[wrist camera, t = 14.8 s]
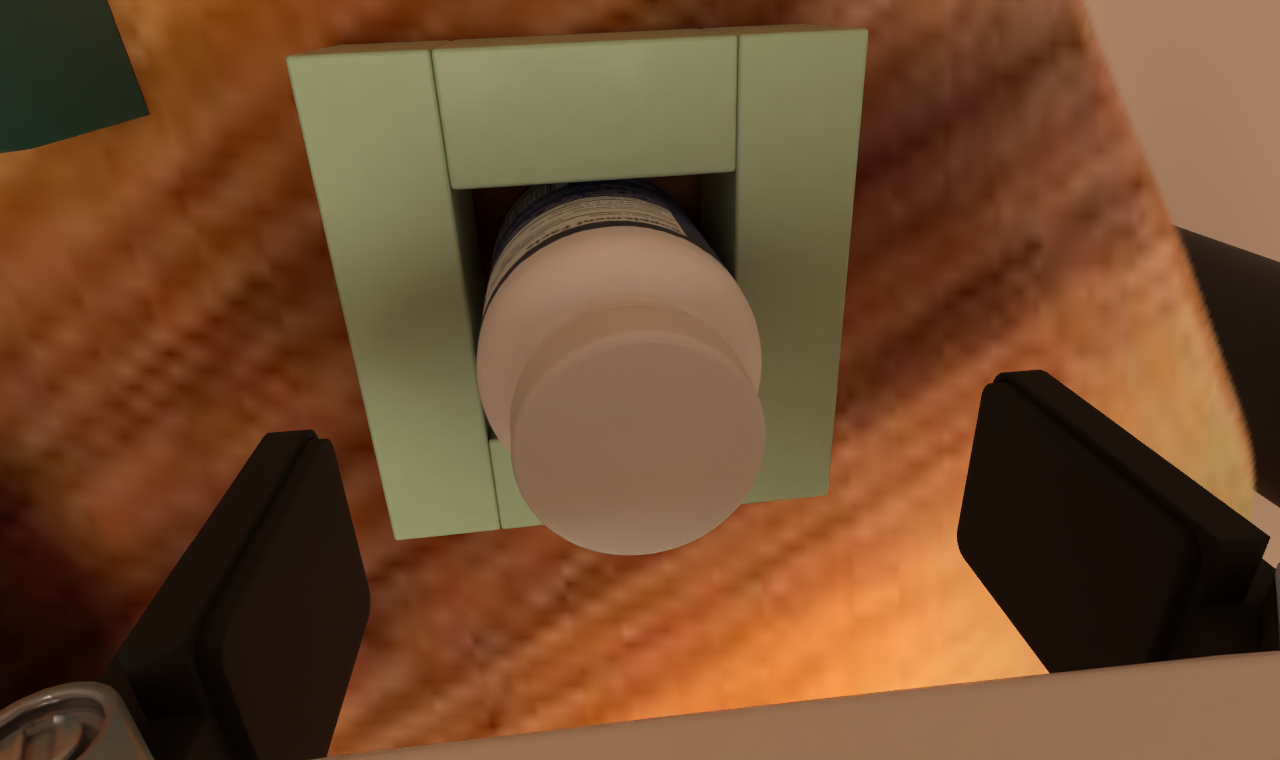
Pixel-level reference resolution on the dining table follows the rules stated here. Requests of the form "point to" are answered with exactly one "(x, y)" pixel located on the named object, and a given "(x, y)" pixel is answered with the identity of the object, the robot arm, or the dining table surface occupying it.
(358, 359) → the holder
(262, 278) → the dining table surface
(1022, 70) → the dining table surface
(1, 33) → the bracket
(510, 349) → the pill bottle
